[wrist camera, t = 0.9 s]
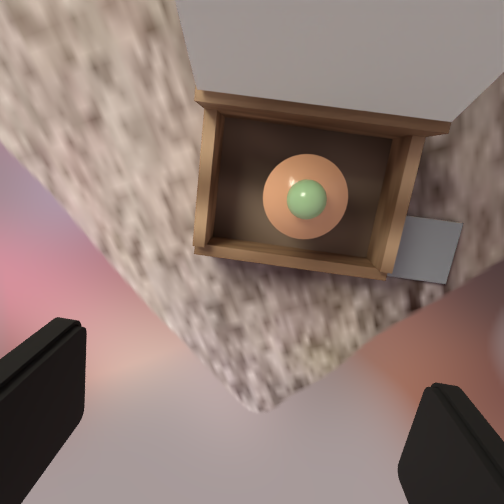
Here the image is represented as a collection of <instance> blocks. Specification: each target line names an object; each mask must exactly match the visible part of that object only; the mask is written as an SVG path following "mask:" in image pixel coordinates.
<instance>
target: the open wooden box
mask: <svg viewBox="0 0 504 504" xmlns="http://www.w3.org/2000/svg"><path fill="white" fill-rule="evenodd" d="M194 101H195V102H197V103H198V104H199V105H201V106H202V107H203V108H204V118H203V130H202V142H201V153H200V165H199V177H198V188H197V200H196V212H195V223H194V235H193V246H195V250H194V254H197V255H205V256H212V257H219V258H226V259H233V260H240V261H247V262H255V263H262V264H269V265H276V266H283V267H290V268H297V269H305V270H312V271H319V272H326V273H333V274H340V275H347V276H354V277H362V278H369V279H376V280H383V281H386V277H387V273H391V274H392V272H393V268H394V264H395V260H396V256H397V252H398V248H399V244H400V240H401V235H402V231H403V227H404V223H405V219H406V215H407V211H408V207H409V203H410V199H411V195H412V191H413V187H414V183H415V179H416V175H417V171H418V166H419V162H420V158H421V154H422V150H423V146H424V142H425V138H426V137H429V136H436V135H442V134H448V133H449V129H450V125H451V122H447V121H439V120H431V119H424V118H416V117H408V116H400V115H392V114H385V113H377V112H369V111H361V110H353V109H346V108H338V107H330V106H322V105H314V104H307V103H299V102H291V101H283V100H276V99H268V98H260V97H252V96H244V95H237V94H229V93H221V92H213V91H205V90H198V89H197V87H196V86H195V99H194ZM301 154H313V155H318V156H321V157H324V158H326V159H328V160H329V161H331V162H332V163H333V164H335V165H336V166H337V167H338V169H339V170H340V171H341V173H342V174H343V176H344V178H345V181H346V184H347V188H348V203H347V207H346V210H345V213H344V215H343V217H342V218H341V220H340V221H339V223H338V224H337V225H336V226H335V227H334V228H333V229H332V230H330V231H329V232H327V233H326V234H324V235H322V236H319V237H316V238H312V239H296V238H292V237H289V236H287V235H285V234H283V233H281V232H280V231H279V230H277V229H276V228H275V227H274V226H273V225H272V223H271V222H270V221H269V219H268V217H267V215H266V213H265V210H264V205H263V191H264V186H265V183H266V181H267V179H268V177H269V175H270V173H271V172H272V171H273V169H274V168H275V167H276V166H277V165H278V164H279V163H281V162H282V161H284V160H286V159H288V158H290V157H293V156H296V155H301Z"/></svg>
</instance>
